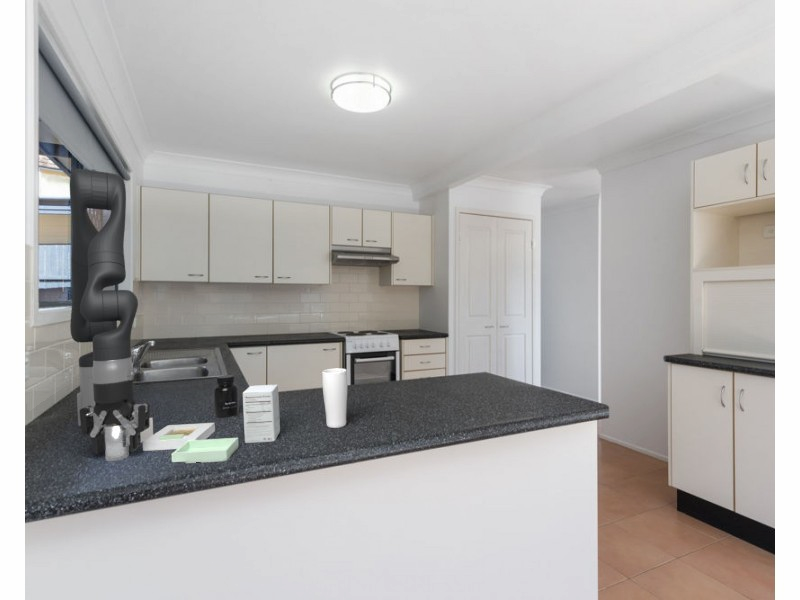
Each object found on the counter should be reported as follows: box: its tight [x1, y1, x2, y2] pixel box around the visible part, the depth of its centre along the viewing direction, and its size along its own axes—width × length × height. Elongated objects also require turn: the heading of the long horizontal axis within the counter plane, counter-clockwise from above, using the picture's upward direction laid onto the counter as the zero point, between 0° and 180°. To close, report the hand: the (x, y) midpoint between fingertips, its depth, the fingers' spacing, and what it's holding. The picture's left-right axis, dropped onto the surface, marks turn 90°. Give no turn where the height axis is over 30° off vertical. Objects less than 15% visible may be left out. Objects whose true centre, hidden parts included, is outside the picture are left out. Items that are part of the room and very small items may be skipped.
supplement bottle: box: [213, 374, 240, 419], centre depth 124 cm, size 7×7×12 cm
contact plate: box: [169, 430, 195, 436], centre depth 103 cm, size 6×6×1 cm
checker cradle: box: [142, 422, 216, 452], centre depth 103 cm, size 12×12×3 cm
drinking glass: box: [321, 367, 349, 429], centre depth 112 cm, size 7×7×15 cm
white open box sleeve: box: [128, 417, 154, 446], centre depth 104 cm, size 7×7×5 cm
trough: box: [171, 437, 240, 464], centre depth 94 cm, size 12×8×2 cm
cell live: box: [103, 424, 130, 462], centre depth 93 cm, size 4×4×9 cm
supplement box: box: [242, 384, 281, 444], centre depth 104 cm, size 7×7×13 cm
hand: (117, 451), depth 93 cm, fingers open, 7 cm apart
